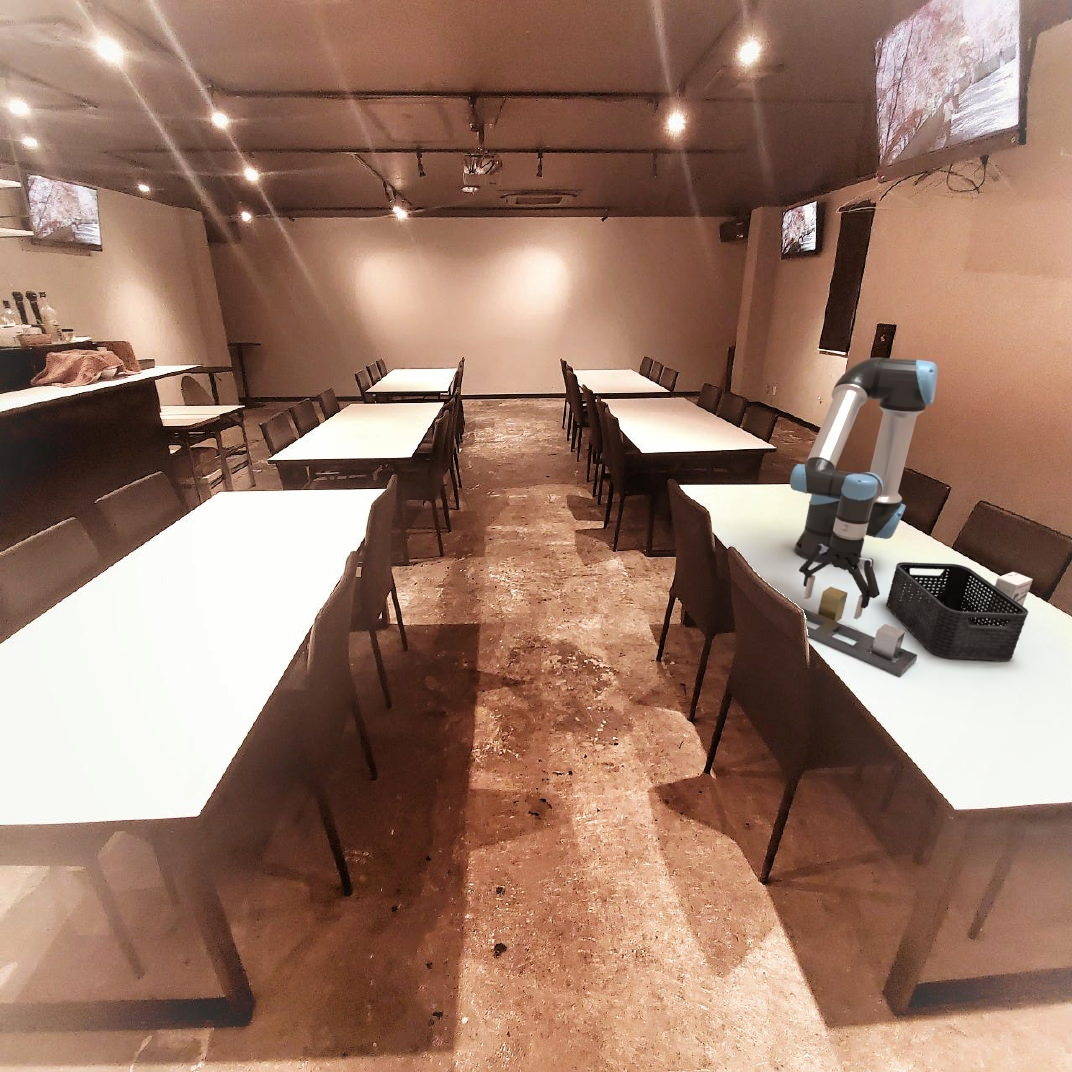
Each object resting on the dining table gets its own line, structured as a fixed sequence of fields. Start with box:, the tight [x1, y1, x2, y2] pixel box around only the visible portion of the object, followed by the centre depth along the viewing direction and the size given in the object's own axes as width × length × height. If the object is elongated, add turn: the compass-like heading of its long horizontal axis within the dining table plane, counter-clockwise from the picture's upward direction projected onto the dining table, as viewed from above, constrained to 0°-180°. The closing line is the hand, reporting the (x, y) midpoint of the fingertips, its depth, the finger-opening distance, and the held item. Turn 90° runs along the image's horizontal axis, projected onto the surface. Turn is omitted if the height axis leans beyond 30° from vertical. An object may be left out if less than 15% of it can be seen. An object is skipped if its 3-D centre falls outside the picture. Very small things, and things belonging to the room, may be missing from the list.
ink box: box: [988, 571, 1034, 623], centre depth 160 cm, size 9×5×12 cm, turn 117°
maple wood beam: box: [817, 586, 848, 623], centre depth 159 cm, size 5×5×8 cm
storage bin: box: [885, 561, 1029, 662], centre depth 153 cm, size 29×19×13 cm
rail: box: [801, 607, 918, 678], centre depth 149 cm, size 30×9×2 cm, turn 40°
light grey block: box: [870, 623, 906, 663], centre depth 142 cm, size 5×5×8 cm
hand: (831, 607), depth 159 cm, fingers open, 13 cm apart
